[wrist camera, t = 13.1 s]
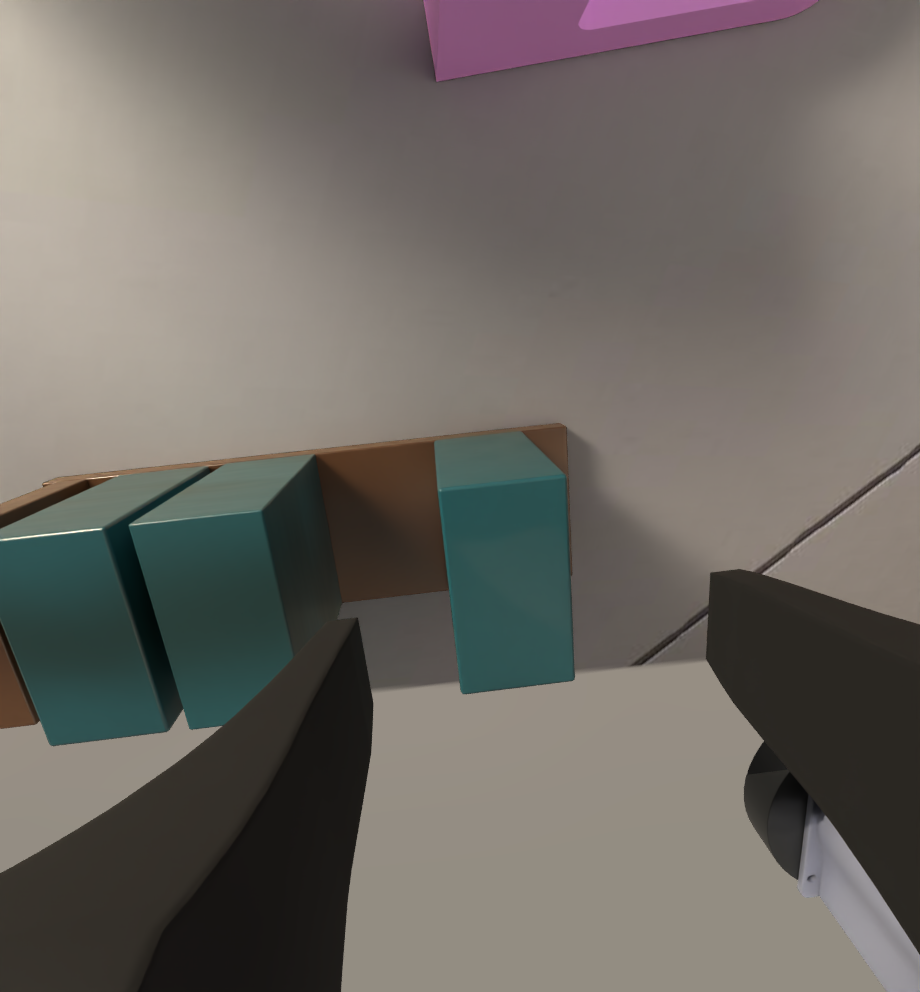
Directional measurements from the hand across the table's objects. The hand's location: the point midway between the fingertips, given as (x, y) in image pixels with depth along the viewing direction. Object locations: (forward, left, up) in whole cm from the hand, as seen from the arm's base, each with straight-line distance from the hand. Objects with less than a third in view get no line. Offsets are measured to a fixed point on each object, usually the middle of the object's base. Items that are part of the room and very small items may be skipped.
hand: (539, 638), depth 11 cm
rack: (0, +6, -9) cm, 11 cm away
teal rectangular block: (0, 0, -8) cm, 8 cm away
